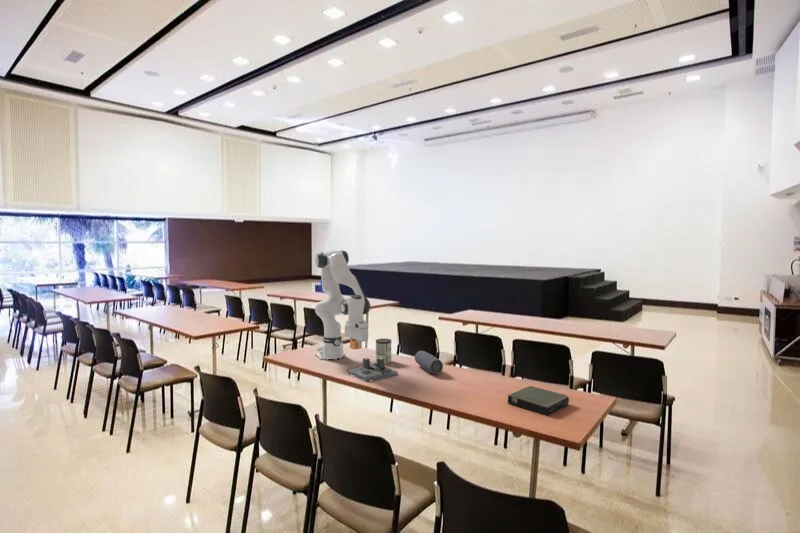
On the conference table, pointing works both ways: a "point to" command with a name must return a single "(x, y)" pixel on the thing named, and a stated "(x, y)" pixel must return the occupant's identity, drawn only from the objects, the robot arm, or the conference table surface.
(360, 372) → the panel
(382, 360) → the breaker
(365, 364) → the block
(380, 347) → the coffee can
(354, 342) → the orange block
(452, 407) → the conference table surface
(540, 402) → the network switch
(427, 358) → the bluetooth speaker
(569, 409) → the conference table surface
